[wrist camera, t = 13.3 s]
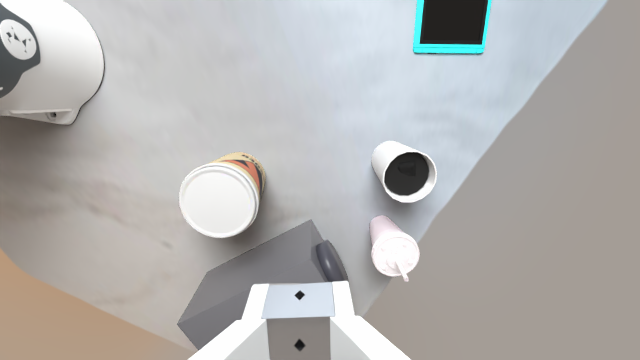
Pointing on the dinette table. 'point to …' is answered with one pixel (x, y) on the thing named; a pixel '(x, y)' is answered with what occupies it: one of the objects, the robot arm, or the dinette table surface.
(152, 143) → the dinette table surface
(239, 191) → the coffee cup
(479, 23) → the handheld game console
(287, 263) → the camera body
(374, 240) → the smoothie
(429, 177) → the white cylindrical cup
